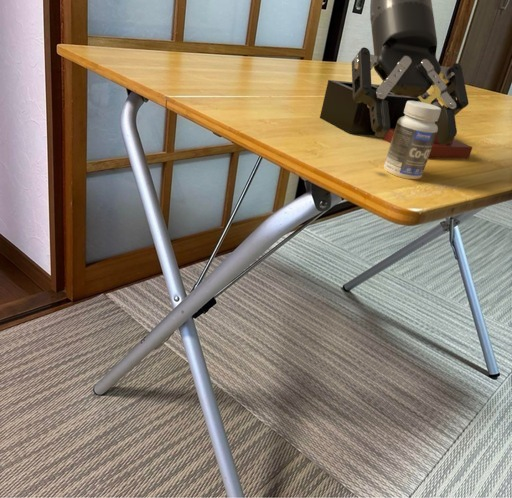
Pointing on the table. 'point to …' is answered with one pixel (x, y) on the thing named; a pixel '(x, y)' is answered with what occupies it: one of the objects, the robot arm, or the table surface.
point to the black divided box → (357, 108)
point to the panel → (442, 148)
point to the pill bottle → (412, 140)
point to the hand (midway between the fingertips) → (415, 138)
